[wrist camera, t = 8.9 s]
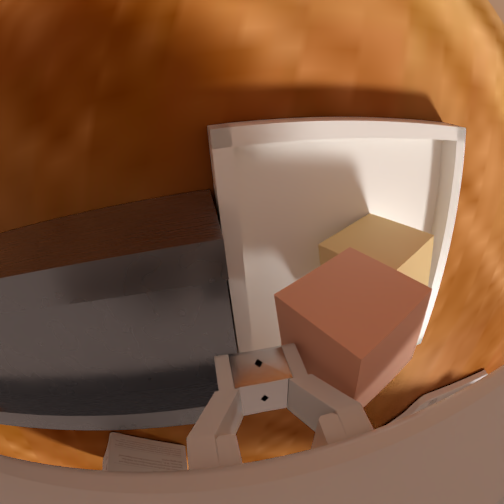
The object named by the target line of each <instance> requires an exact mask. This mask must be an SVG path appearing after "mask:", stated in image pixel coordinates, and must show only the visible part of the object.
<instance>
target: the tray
mask: <svg viewBox="0 0 504 504" xmlns="http://www.w3.org/2000/svg"><path fill="white" fill-rule="evenodd" d="M207 132H208V141H209V150H210V159H211V168H212V176H213V184H214V193H215V201H216V209H217V217H218V221H219V225H220V228H221V232H222V235H223V239H224V247H225V254H226V262H227V269H228V277H229V280H227V287H228V294H229V301H230V308H231V314H232V321H233V328H234V334H235V341H236V347H237V353H241V352H248V351H254V350H259V349H264V348H270V347H275V346H281V345H282V344H281V338H280V331H279V325H278V318H277V312H276V305H275V299H274V294H275V293H277V292H279V291H280V290H282V289H284V288H285V287H287V286H289V285H290V284H292V283H293V282H295V281H297V280H298V279H300V278H302V277H303V276H305V275H306V274H308V273H310V272H311V271H313V270H314V269H316V268H318V267H319V266H320V258H319V249H318V244H320V243H321V242H323V241H325V240H326V239H328V238H330V237H331V236H333V235H335V234H336V233H338V232H340V231H341V230H343V229H345V228H346V227H348V226H349V225H351V224H353V223H354V222H356V221H358V220H359V219H361V218H363V217H364V216H366V215H367V214H369V213H370V214H374V215H377V216H380V217H383V218H386V219H389V220H392V221H395V222H398V223H401V224H404V225H407V226H410V227H412V228H415V229H418V230H421V231H424V232H427V233H429V234H432V235H434V241H433V251H432V260H431V268H430V275H429V282H428V287H430V288H432V292H431V296H430V300H429V304H428V307H427V311H426V315H425V318H424V322H423V325H422V328H421V332H420V335H419V338H418V341H417V344H416V345H418V344H420V343H421V341H422V338H423V336H424V333H425V330H426V327H427V324H428V321H429V319H430V316H431V312H432V309H433V306H434V303H435V300H436V296H437V293H438V290H439V286H440V283H441V279H442V275H443V272H444V268H445V264H446V260H447V256H448V252H449V247H450V243H451V238H452V233H453V228H454V223H455V218H456V212H457V207H458V200H459V194H460V187H461V180H462V171H463V162H464V151H465V138H466V128H464V127H460V126H456V125H453V124H449V123H444V122H437V121H427V120H415V119H401V118H382V117H300V118H280V119H265V120H253V121H242V122H232V123H223V124H215V125H207Z"/></svg>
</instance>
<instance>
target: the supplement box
mask: <svg viewBox="0 0 504 504" xmlns="http://www.w3.org/2000/svg"><path fill="white" fill-rule="evenodd" d="M178 470H187V462H186V452H185V446H184V445H179V444H172V443H166V442H160V441H155V440H149V439H145V438H139V437H134V436H129V435H125V434H121V433H116V432H111V433H110V436H109V442H108V446H107V449H106V453H105V456H104V458H103V469H102V471H126V472H154V471H178Z"/></svg>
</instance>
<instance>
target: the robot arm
mask: <svg viewBox="0 0 504 504" xmlns="http://www.w3.org/2000/svg"><path fill="white" fill-rule="evenodd" d="M214 361H215V368H216V375H217V382H218V389H219V391H215V392H214V394H213V395H212V397H211V399H210V400H209V402H208V404H207V405H206V407H205V409H204V410H203V412H202V414H201V415H200V417H199V419H198V420H197V422H196V423H195V425H194V427H193V428H192V430H191V432H190V433H189V435H188V436H187V438H186V439H187V452H188V464H189V470H178V471H154V472H126V471H102V470H88V469H78V468H69V467H61V466H54V465H47V464H41V463H36V462H30V461H25V460H20V459H16V458H11V457H7V456H3V455H0V504H504V365H502V366H501V367H499V368H498V369H496V370H495V371H493V372H491V373H490V374H487V372H486V371H485V370H483V371H481V372H478V373H476V374H474V375H472V376H470V377H467V378H465V379H463V380H460V381H458V382H456V383H453V384H451V385H448V386H446V387H443V388H441V389H438V390H435V391H433V392H430V393H427V394H425V395H423V396H422V397H420V398H419V399H418V400H417V401H415V402H414V403H413V404H412V405H411V406H410V407H409V408H408V409H407V410H406V411H405V412H404V413H403V414H401V415H400V416H398V417H397V418H396V419H394V420H393V421H391V422H390V423H388V424H387V425H385V426H382V427H379V428H377V429H373V427H372V425H371V423H370V421H369V419H368V417H367V415H366V413H365V411H364V409H363V407H362V405H361V403H359V402H358V401H356V400H354V399H352V398H351V397H349V396H347V395H346V394H344V393H342V392H341V391H339V390H337V389H336V388H334V387H332V386H331V385H329V384H328V383H326V382H324V381H323V380H321V379H319V378H318V377H316V376H315V375H313V374H309V375H308V373H307V371H306V368H305V366H304V364H303V361H302V359H301V357H300V354H299V352H298V350H297V347H296V345H295V344H294V343H291V344H286V345H281V346H275V347H270V348H264V349H259V350H254V351H248V352H241V353H233V354H227V355H218V356H214ZM282 408H287V409H288V410H289V411H291V412H292V413H293V414H294V415H295V416H297V417H298V418H299V419H300V420H301V421H303V422H304V423H305V424H306V425H307V426H309V427H310V428H311V429H312V430H314V431H315V435H314V439H313V443H312V447H311V449H310V450H306V451H302V452H298V453H294V454H290V455H285V456H281V457H276V458H271V459H266V460H260V461H255V462H249V463H243V464H242V459H241V454H240V450H239V445H238V441H237V436H235V435H236V433H237V431H238V428H239V426H240V424H241V421H242V419H243V416H245V415H250V414H255V413H260V412H265V411H271V410H277V409H282Z"/></svg>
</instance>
